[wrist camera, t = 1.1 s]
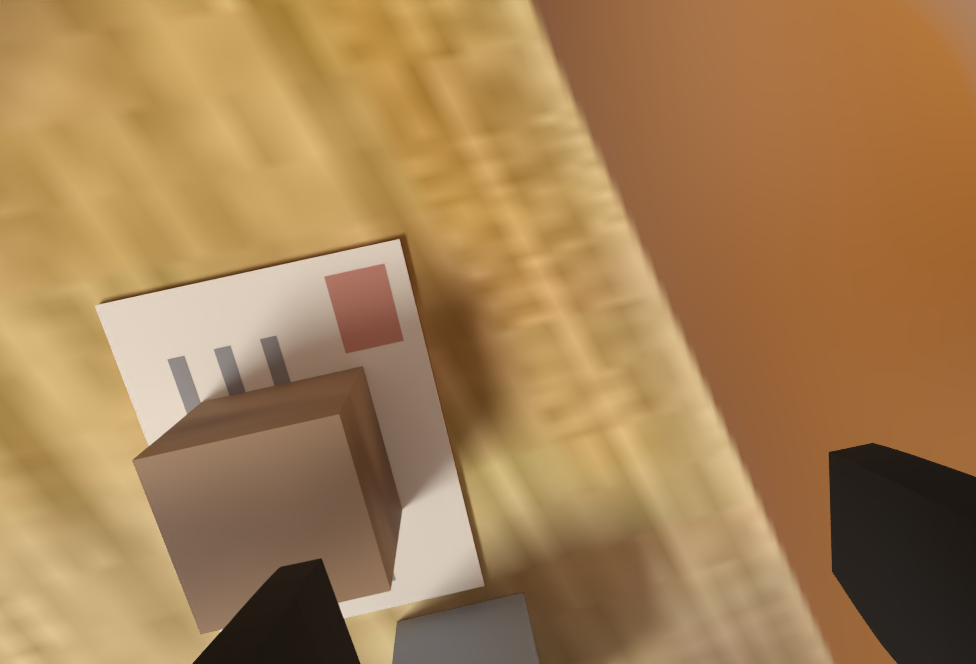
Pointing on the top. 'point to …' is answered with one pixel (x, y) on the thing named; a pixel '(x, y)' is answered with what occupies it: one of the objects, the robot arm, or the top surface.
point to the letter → (305, 354)
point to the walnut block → (275, 492)
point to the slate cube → (469, 635)
